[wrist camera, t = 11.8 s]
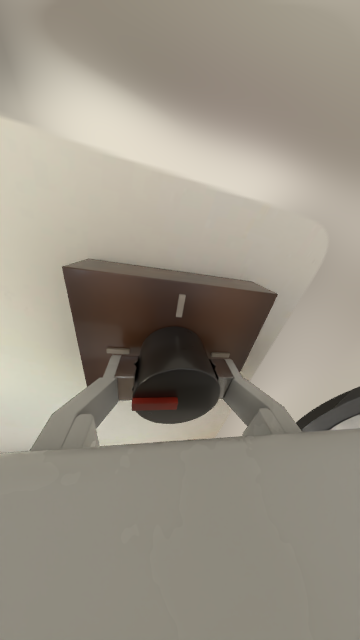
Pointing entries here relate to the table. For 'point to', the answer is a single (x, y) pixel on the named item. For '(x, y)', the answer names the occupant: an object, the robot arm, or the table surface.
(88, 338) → the dial panel
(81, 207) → the table surface
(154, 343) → the dial
